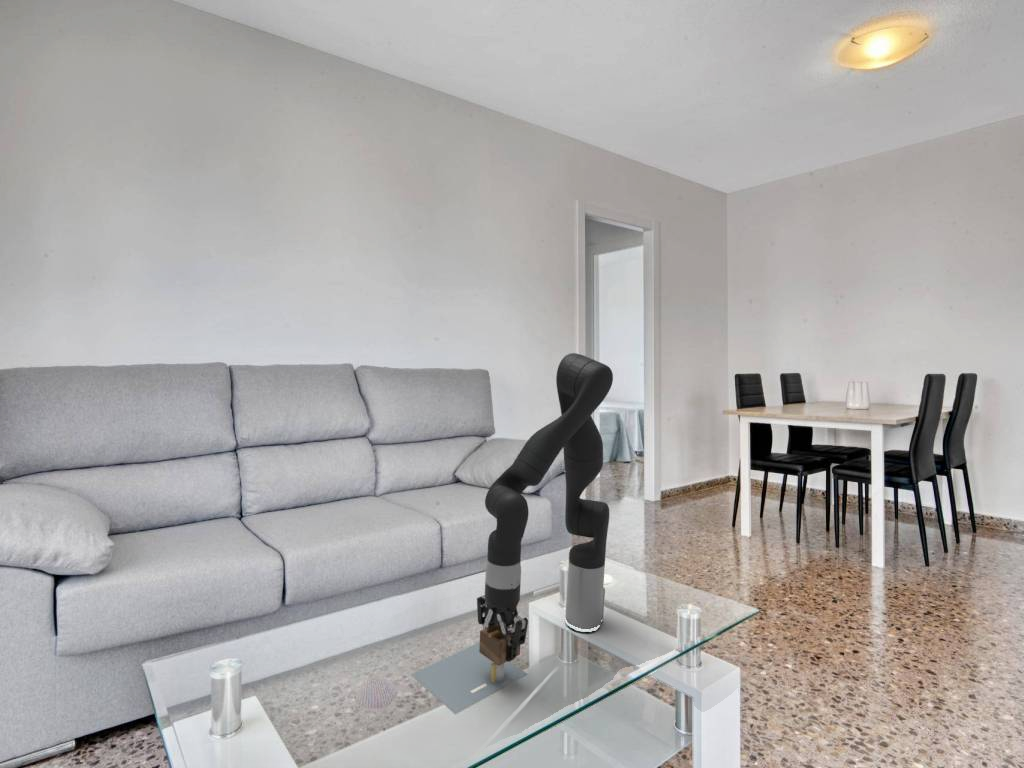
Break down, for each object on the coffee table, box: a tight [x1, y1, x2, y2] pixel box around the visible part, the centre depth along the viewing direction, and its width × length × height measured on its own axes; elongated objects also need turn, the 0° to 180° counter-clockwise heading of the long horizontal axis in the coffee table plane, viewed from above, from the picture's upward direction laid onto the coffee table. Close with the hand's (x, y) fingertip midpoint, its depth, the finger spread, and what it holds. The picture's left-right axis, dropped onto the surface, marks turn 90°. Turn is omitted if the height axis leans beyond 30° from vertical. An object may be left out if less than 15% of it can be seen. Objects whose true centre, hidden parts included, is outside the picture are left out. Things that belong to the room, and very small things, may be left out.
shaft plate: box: [410, 641, 528, 715], centre depth 129 cm, size 20×16×5 cm
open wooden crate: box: [479, 624, 521, 666], centre depth 127 cm, size 6×6×6 cm
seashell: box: [353, 674, 399, 710], centre depth 122 cm, size 10×6×10 cm
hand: (499, 652), depth 127 cm, fingers closed on open wooden crate, 6 cm apart
